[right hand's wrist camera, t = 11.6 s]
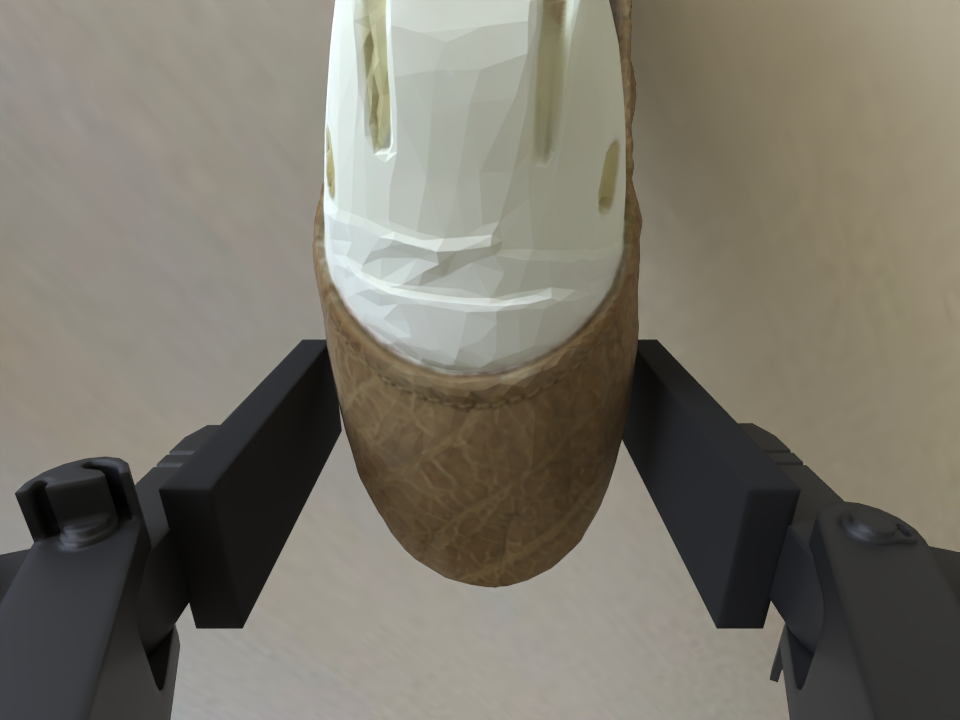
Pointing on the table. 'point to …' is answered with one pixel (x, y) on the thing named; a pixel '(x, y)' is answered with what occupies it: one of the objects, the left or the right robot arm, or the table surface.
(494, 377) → the ballet flat
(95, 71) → the table surface
